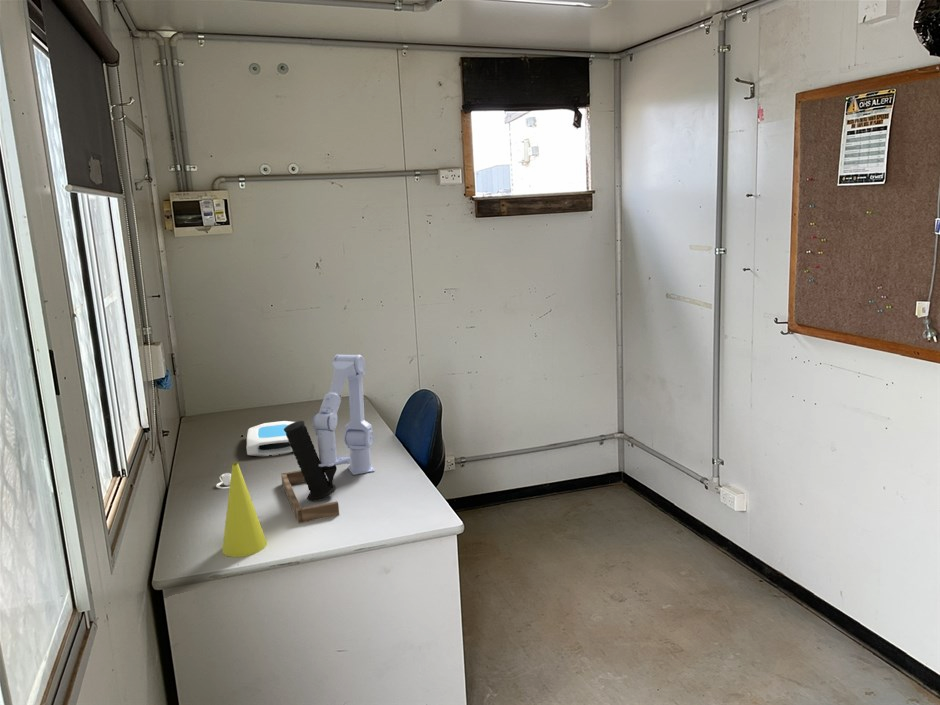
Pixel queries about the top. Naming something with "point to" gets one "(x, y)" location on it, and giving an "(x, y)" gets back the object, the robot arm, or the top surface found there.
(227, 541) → the cone
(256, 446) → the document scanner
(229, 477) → the teacup and saucer
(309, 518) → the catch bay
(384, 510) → the top surface
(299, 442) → the handle grip
